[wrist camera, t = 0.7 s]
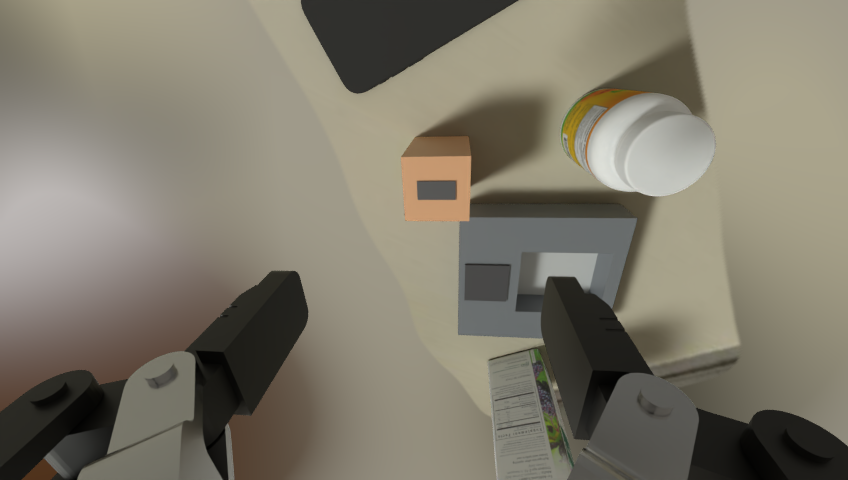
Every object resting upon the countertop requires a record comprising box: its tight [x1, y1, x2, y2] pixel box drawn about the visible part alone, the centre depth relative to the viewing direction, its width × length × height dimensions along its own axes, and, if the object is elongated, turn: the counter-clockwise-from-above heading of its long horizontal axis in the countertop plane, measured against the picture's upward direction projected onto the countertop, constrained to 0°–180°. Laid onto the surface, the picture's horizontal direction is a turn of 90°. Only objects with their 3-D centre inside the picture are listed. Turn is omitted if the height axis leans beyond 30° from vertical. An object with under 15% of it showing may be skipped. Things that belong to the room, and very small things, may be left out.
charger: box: [401, 136, 471, 221], centre depth 24 cm, size 4×4×7 cm
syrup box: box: [488, 349, 574, 480], centre depth 30 cm, size 6×6×14 cm
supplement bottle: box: [560, 88, 716, 196], centre depth 20 cm, size 5×5×10 cm
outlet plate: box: [458, 204, 638, 338], centre depth 29 cm, size 12×13×3 cm
